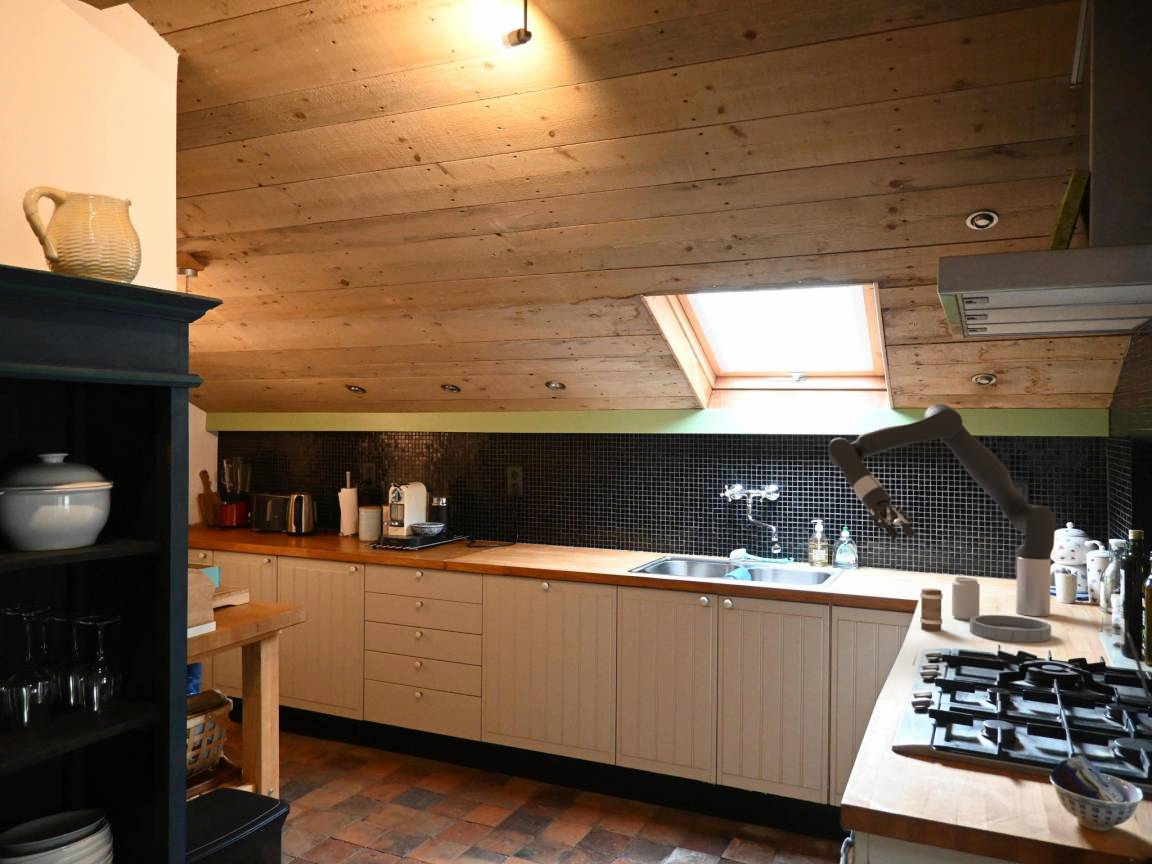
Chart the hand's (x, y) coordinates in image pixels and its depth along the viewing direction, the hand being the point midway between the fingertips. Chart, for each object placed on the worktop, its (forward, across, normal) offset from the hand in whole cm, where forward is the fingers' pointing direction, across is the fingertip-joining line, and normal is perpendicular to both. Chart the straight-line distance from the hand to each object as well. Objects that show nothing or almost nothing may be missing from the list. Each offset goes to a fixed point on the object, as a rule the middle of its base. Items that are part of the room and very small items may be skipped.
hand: (904, 537), depth 260 cm
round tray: (+35, +12, -1) cm, 37 cm away
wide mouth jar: (+23, +22, +12) cm, 34 cm away
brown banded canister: (+24, 0, +11) cm, 26 cm away
